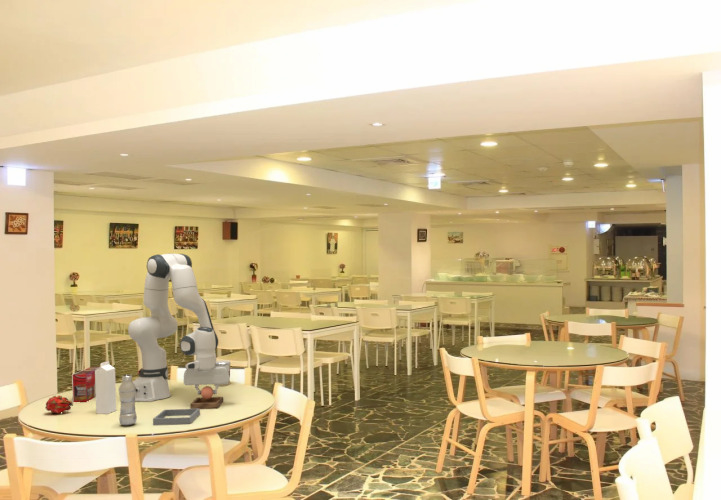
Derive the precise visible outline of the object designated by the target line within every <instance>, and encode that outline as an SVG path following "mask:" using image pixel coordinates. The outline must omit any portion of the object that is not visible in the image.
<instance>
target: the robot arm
mask: <svg viewBox="0 0 721 500" xmlns="http://www.w3.org/2000/svg"><path fill="white" fill-rule="evenodd" d="M192 267H193V262H192V259H191V258H190V256H189V255H187V254H184V253H173V252H171V253H164V254H153V255H151V256H150V257H148V259H147V262H146V269H147V272H146V276H145V280H144V288H143V289H144V290H143V301H142V302H143V305H144V306H145V307H146V308H147V309H149V311H150V315H151V316H145V317H139V318H137V319H136V318H135V319H134V320H132V321H131V322H130V323H129V325H128V327H127V332H128V336H129V338H131V340H133V341H134V342H136V344H137V346H138V347H139V349H140V353H141V361H142V364H141V365H142V367H141V368H140V369H138V371H137V374H138V377H137V378H135V379H134V380H133V381H132V382H133V383H134V384H135V386H136V393H135V402H153V401H157V400H162V399H167V398H169V397H171V396H172V395H171V391H170V387H169V382H168V381H169V380H168V378H169V370H168V365H167V351H166V349H165V348H163V347H161V346H160V345H159V343H158V339H163V338H168V337H170V336H172V335H174V334H175V333H176V332H177V331H178V327H179V326H178V322H177V319H176V317H174V316H173V315H172V314H171V312H170V309H169V302H168V301H169V286H170V285H169V284H170V281H171V286H172V287H171V289H172V296H173V299H174V302H175V303H176V305H178V306H179V307H181V308H183V309H186V310H189V311H191V312H193V313H194V314H195V315H196V317H197V321H198V323H199V327H197V328H196V329H195V330H194V331H193V332H191V333H188V334H186V335H183V336H182V337H181V339H180V342H179V348H180V351H181V353H183V354H184V355H185V356H195V360H192V361H189V362H187V364H185V370H184V374H183V384H184V386H194V389H195V390H196V392H197V396H201V390H202V389H200V388H199V386H202V385H203V386H204V385H206V386H207V385H214V384H215V385H214V386H215V388H214V389H213V395H217V394H218V389H219V384H227V383H228V382H229V381H230V382H231V375H230V376H229V371H230V372H231V366H230V367H229V365H228V364H226V363H216V361H217V354H216V350H217V348H218V346H219V337H218V335H217V333H216V332H215V331H216V330H215V328H214V326H213V322H212V318H211V315H210V312H209V309H208V306H207V305H208V304H207V302H206V301H205V299H204V298H202V296H201V295H200V293H199V290H198V284H197V278H196V275H195V273H194V269H193V268H192Z"/></svg>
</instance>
